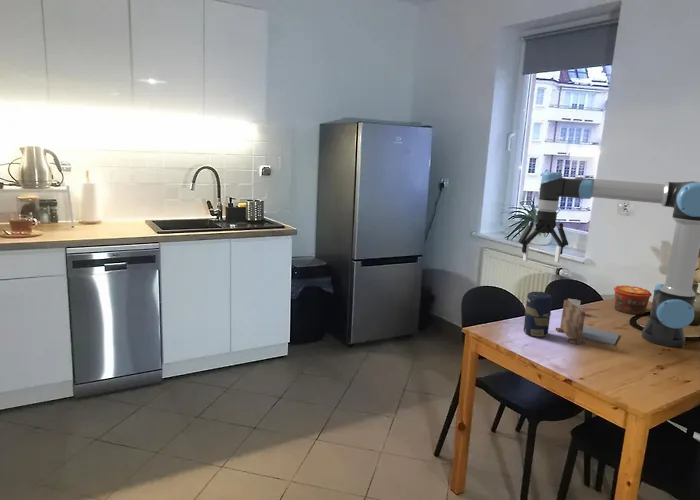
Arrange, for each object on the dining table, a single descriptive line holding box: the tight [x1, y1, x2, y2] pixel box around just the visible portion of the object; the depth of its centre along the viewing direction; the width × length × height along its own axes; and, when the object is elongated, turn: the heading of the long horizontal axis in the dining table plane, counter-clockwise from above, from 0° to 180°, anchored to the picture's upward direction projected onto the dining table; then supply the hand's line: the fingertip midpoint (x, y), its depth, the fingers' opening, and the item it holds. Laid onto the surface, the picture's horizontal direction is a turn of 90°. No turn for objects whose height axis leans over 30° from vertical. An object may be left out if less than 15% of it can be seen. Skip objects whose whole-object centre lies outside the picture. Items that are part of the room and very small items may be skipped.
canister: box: [523, 291, 553, 338], centre depth 205 cm, size 10×10×18 cm
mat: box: [582, 325, 620, 346], centre depth 208 cm, size 14×14×1 cm
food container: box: [613, 285, 653, 316], centre depth 245 cm, size 16×16×11 cm
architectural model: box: [567, 298, 584, 311], centre depth 237 cm, size 3×7×7 cm, turn 60°
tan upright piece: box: [555, 299, 587, 345], centre depth 205 cm, size 16×6×13 cm, turn 0°
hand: (540, 261), depth 211 cm, fingers open, 13 cm apart
